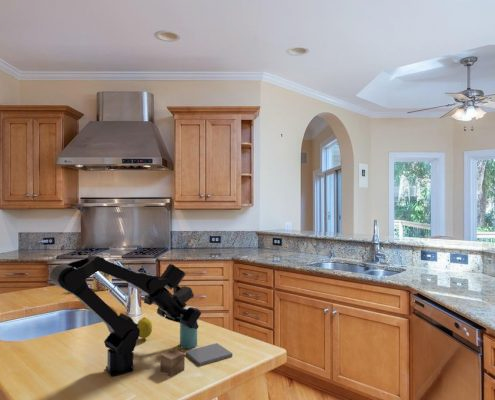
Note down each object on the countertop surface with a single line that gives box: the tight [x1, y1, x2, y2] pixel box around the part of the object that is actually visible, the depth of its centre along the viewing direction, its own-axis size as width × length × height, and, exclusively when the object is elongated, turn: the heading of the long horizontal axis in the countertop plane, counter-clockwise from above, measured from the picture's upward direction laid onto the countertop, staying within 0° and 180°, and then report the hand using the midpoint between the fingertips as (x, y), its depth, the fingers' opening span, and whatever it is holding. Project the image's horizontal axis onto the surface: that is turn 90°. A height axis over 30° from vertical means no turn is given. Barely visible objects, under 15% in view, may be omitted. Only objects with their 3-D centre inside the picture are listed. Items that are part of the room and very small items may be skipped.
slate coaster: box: [184, 342, 233, 366], centre depth 117 cm, size 12×10×1 cm
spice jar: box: [179, 305, 198, 350], centre depth 125 cm, size 6×6×13 cm
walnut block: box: [160, 348, 186, 377], centre depth 107 cm, size 5×5×5 cm
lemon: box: [136, 316, 153, 340], centre depth 130 cm, size 6×6×8 cm
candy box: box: [93, 271, 113, 291], centre depth 202 cm, size 9×4×15 cm, turn 93°
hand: (191, 325), depth 126 cm, fingers closed on spice jar, 6 cm apart
